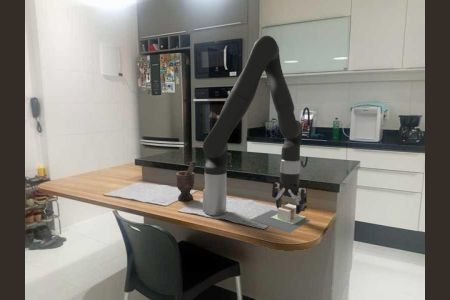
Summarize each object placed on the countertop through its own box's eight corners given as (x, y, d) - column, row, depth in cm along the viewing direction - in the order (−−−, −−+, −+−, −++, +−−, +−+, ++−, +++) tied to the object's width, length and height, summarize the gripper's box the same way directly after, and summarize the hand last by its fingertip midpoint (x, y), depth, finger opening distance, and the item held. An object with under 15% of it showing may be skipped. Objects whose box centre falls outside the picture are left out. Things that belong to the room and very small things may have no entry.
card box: (287, 213, 125) (288, 203, 124) (298, 216, 121) (299, 206, 121) (277, 218, 119) (277, 208, 118) (288, 221, 116) (289, 211, 115)
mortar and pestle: (203, 198, 146) (203, 158, 143) (194, 204, 138) (194, 161, 135) (182, 195, 150) (182, 156, 148) (173, 200, 143) (172, 159, 140)
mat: (249, 221, 118) (249, 219, 118) (273, 210, 131) (274, 208, 131) (289, 234, 106) (289, 232, 106) (312, 220, 119) (312, 218, 119)
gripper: (311, 172, 115) (309, 212, 118) (279, 167, 125) (278, 204, 127) (301, 175, 110) (299, 218, 112) (269, 169, 119) (268, 209, 122)
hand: (288, 210), depth 120 cm, fingers open, 8 cm apart
